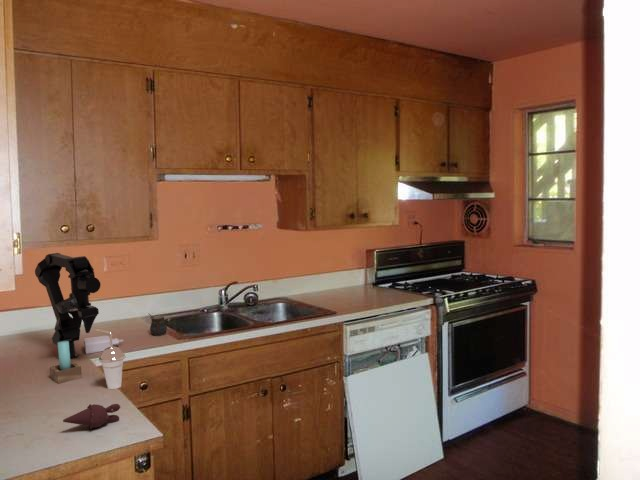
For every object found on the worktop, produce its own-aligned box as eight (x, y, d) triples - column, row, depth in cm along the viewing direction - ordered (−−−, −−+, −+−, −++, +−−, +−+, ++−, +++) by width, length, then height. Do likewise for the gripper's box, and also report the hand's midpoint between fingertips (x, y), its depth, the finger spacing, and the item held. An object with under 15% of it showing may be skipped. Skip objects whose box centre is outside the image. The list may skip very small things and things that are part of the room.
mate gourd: (167, 335, 247) (165, 313, 246) (149, 337, 245) (147, 315, 243) (167, 331, 254) (165, 310, 252) (150, 333, 252) (148, 311, 250)
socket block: (50, 378, 198) (49, 367, 197) (73, 372, 203) (72, 361, 203) (58, 383, 192) (57, 372, 191) (81, 377, 197) (80, 366, 197)
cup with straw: (110, 393, 182) (105, 333, 179) (94, 387, 187) (90, 329, 185) (132, 385, 189) (128, 327, 186) (117, 379, 194) (113, 324, 192)
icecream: (64, 417, 149) (123, 409, 156) (62, 402, 155) (118, 394, 162) (63, 439, 151) (121, 430, 158) (61, 423, 157) (116, 415, 164)
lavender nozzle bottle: (125, 348, 230) (86, 355, 223) (122, 343, 238) (84, 348, 232) (124, 337, 230) (85, 343, 223) (121, 332, 238) (83, 337, 231)
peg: (59, 377, 198) (56, 342, 196) (69, 375, 200) (66, 340, 199) (62, 380, 195) (59, 344, 193) (73, 377, 197) (70, 342, 196)
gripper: (48, 290, 210) (52, 330, 212) (66, 297, 196) (69, 340, 198) (79, 285, 217) (82, 324, 219) (97, 292, 204) (100, 333, 206)
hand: (83, 330), depth 210 cm, fingers open, 9 cm apart
